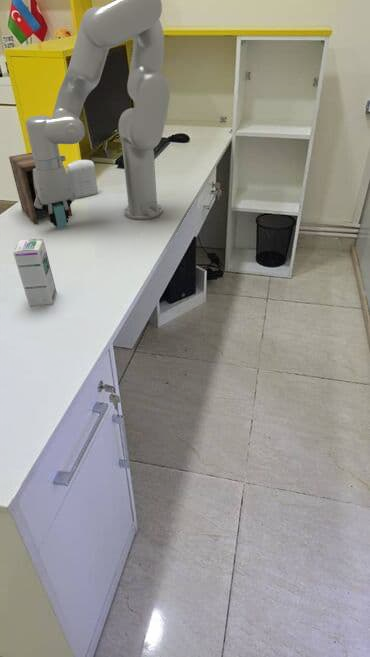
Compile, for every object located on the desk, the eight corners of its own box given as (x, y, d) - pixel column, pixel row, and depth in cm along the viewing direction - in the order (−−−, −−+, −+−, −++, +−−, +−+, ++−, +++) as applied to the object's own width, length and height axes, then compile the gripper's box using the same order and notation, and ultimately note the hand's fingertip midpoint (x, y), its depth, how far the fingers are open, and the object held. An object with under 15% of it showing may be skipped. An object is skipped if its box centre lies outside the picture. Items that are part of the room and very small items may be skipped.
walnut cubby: (72, 215, 149) (61, 160, 138) (34, 224, 144) (21, 167, 133) (58, 202, 158) (47, 150, 148) (22, 210, 153) (8, 156, 142)
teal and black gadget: (77, 224, 142) (74, 203, 138) (47, 232, 138) (42, 210, 134) (55, 204, 156) (51, 184, 152) (28, 210, 152) (23, 190, 148)
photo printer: (95, 190, 168) (90, 156, 160) (100, 193, 165) (95, 159, 157) (69, 196, 163) (62, 161, 156) (73, 200, 160) (67, 164, 153)
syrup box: (53, 304, 106) (39, 249, 97) (28, 306, 106) (12, 251, 97) (56, 291, 111) (44, 238, 102) (32, 293, 110) (18, 239, 102)
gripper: (70, 155, 135) (80, 213, 146) (16, 165, 129) (30, 225, 140) (79, 161, 130) (89, 220, 141) (23, 171, 124) (38, 233, 135)
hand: (60, 222), depth 140 cm, fingers closed on teal and black gadget, 3 cm apart
